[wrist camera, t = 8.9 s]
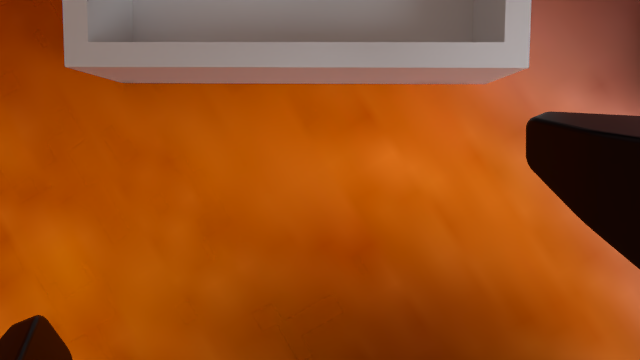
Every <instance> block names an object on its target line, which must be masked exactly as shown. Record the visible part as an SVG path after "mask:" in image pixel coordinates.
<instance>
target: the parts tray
mask: <svg viewBox="0 0 640 360" xmlns="http://www.w3.org/2000/svg"><path fill="white" fill-rule="evenodd" d="M62 3H63V32H64V62H65V67H67V68H71V69H74V70H78V71H81V72H85V73H89V74H92V75H96V76H99V77H103V78H106V79H110V80H114V81H117V82H121V83H261V84H487V83H490V82H492V81H495V80H498V79H500V78H503V77H506V76H508V75H511V74H514V73H516V72H519V71H522V70H524V69H527V68H529V50H530V24H531V0H62Z"/></svg>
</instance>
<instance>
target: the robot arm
mask: <svg viewBox="0 0 640 360" xmlns="http://www.w3.org/2000/svg"><path fill="white" fill-rule="evenodd" d="M526 159H527V162H528V165H529V166H530V168H531V169H532V170H533V171H534V172H535V173H536V174H537V175H538V176H539V177H540V178H541V179H542V181H543V182H544V183H545V184H546V185H547V186H548V187H549V188H550V189H551V190H552V191H553V192H554V193H555V194H556V195H557V196H558V197H559V198H560V199H561V200H562V201H563V202H564V203H565V204H566V205H567V206H568V207H569V208H570V209H571V210H572V211H573V212H574V213H575V214H576V215H577V216H578V217H579V218H580V219H581V220H582V221H583V222H584V223H585V224H586V225H587V226H589V227H590V228H591V229H592V230H593V231H594V232H596V233H597V234H598V235H599V236H600V237H602V238H603V239H604V240H605V241H606V242H608V243H609V244H610V245H611V246H612V247H614V248H615V249H616V250H617V251H618V252H619V253H621V254H622V255H623V256H624V257H625V258H627V259H628V260H629V261H630V262H631V263H633V264H634V265H635V266H636V267H637V268H639V269H640V116H627V115H607V114H588V113H568V112H545V113H543V114H540V115H538V116H535V117H533V118H531V119H530V120H529V121H528V123H527V125H526ZM0 360H72V356H71V353H70V351H69V349H68V348H67V346H66V345H65V343H64V342H63V341H62V339H61V338H60V336H59V335H58V334H57V332H56V331H55V330H54V328H53V327H52V325H51V324H50V323H49V321H48V320H47V319H46V318H45V317H43V316H40V315H36V316H33V317H31V318H28V319H26V320H23V321H21V322H18V323H16V324H14V325H12V326H11V327H10V328H9V329H8V330H7V332H6V333H5V334H4V335H3V336H2V337H1V339H0Z"/></svg>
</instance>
